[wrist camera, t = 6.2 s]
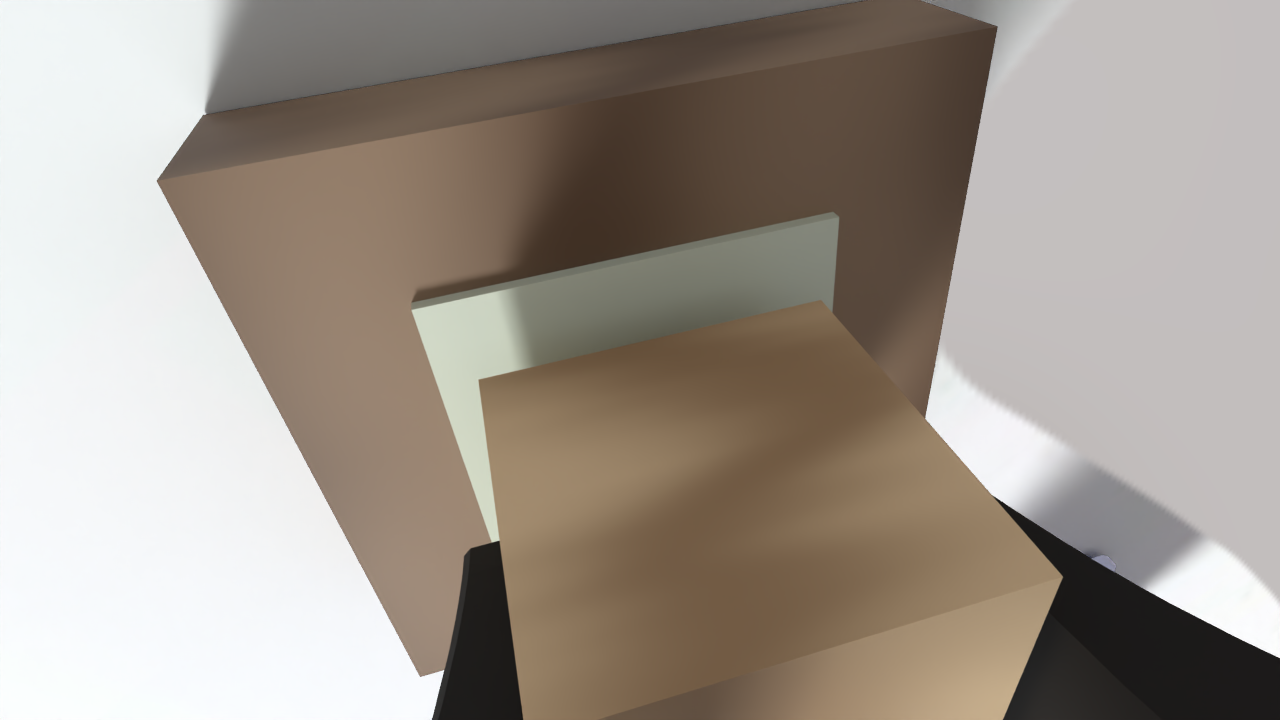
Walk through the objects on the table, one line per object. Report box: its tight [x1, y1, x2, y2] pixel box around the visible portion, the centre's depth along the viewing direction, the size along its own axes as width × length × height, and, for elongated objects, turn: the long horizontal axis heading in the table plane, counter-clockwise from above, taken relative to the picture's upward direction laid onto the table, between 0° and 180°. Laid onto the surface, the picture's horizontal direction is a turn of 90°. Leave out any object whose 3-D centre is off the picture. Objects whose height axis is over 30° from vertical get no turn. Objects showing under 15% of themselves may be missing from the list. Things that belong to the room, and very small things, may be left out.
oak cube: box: [478, 300, 1063, 720], centre depth 10 cm, size 5×5×5 cm
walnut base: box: [157, 0, 997, 677], centre depth 14 cm, size 11×11×3 cm
